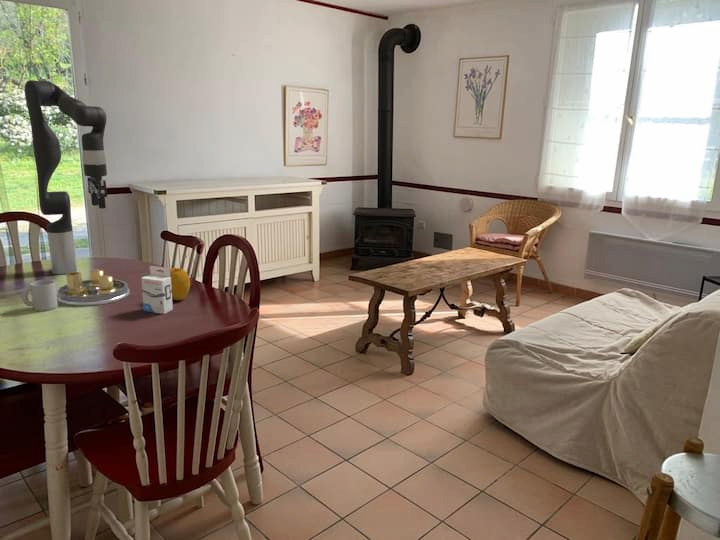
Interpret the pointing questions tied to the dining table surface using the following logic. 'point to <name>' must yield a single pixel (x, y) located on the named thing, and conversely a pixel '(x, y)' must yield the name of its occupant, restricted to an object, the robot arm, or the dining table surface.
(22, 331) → the dining table surface
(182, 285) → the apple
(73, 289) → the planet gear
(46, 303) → the cup
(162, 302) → the ink box
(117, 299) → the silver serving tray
